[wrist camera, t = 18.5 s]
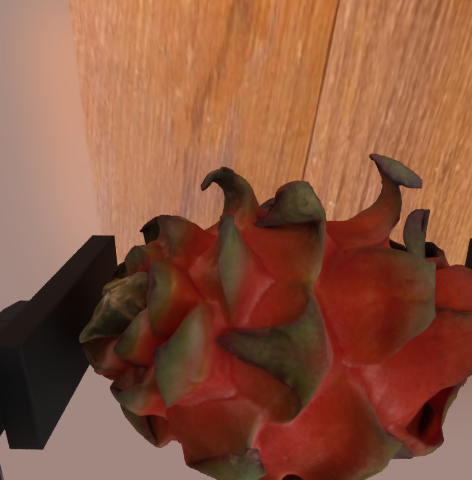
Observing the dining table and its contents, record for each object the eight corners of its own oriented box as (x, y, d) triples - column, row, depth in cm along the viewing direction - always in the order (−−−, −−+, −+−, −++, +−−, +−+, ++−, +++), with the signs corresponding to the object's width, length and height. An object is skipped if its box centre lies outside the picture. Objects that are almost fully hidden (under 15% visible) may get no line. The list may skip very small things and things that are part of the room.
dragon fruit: (108, 236, 17) (401, 219, 18) (111, 476, 15) (444, 438, 16) (26, 122, 9) (563, 103, 10) (4, 616, 7) (697, 516, 8)
